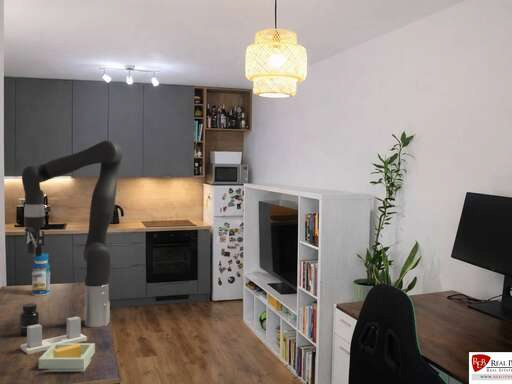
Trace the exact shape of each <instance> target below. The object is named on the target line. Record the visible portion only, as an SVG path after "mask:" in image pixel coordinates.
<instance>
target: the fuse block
mask: <svg viewBox="0 0 512 384" xmlns="http://www.w3.org/2000/svg"><path fill="white" fill-rule="evenodd" d="M85 341H88V336H86V335H84V334H82V333H81V337H77V338H73V339H68V338H67V334H63V335H60V336H55V337H50V338H45V339H42V346H38V347H34V348H29V347H27V343H23V344H20V349H21V350H22V351H23V352H25V353H26V354H27V355H30V354H35V353H39V352H44V351H47V350H48V349H49V348H50V347H51V345H52V344H53V343H81V342H82V343H83V342H85Z"/></svg>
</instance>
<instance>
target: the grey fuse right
mask: <svg viewBox="0 0 512 384" xmlns="http://www.w3.org/2000/svg"><path fill="white" fill-rule="evenodd" d="M81 321H82V318H81V317H79V316H73V317H68V318H66V335H67V338H68V339H73V338H77V337H81V334H82V332H81V331H82V326H81V324H82V322H81Z"/></svg>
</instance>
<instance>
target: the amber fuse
mask: <svg viewBox="0 0 512 384" xmlns="http://www.w3.org/2000/svg"><path fill="white" fill-rule="evenodd" d="M53 358H81V346H80V345H78V344H74V345H70V346H66V347H62V348H58V349H54V350H53Z"/></svg>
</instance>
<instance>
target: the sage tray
mask: <svg viewBox="0 0 512 384" xmlns="http://www.w3.org/2000/svg"><path fill="white" fill-rule="evenodd" d="M74 344H78V345H80V346H81V358H53V350H54V349H58V348H62V347H66V346H70V345H74ZM95 353H96V343H94V342H93V343H91V342H90V343H89V342H88V343H84V342H82V343H81V342H78V343H53V344H52V345H51V347H50V348H49V349H48V350H45V352H44V353H43V354H42V355H40V357H39V358H38V369H40V371H38V372H40V373H41V372H45V373H46V372H47V373H49V372H62V373H63V372H85V371H86V369H87V367H88V366H89V365H90V363H91V361H93V358H94V357H93V356H94V354H95ZM41 369H43V370H41Z"/></svg>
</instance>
